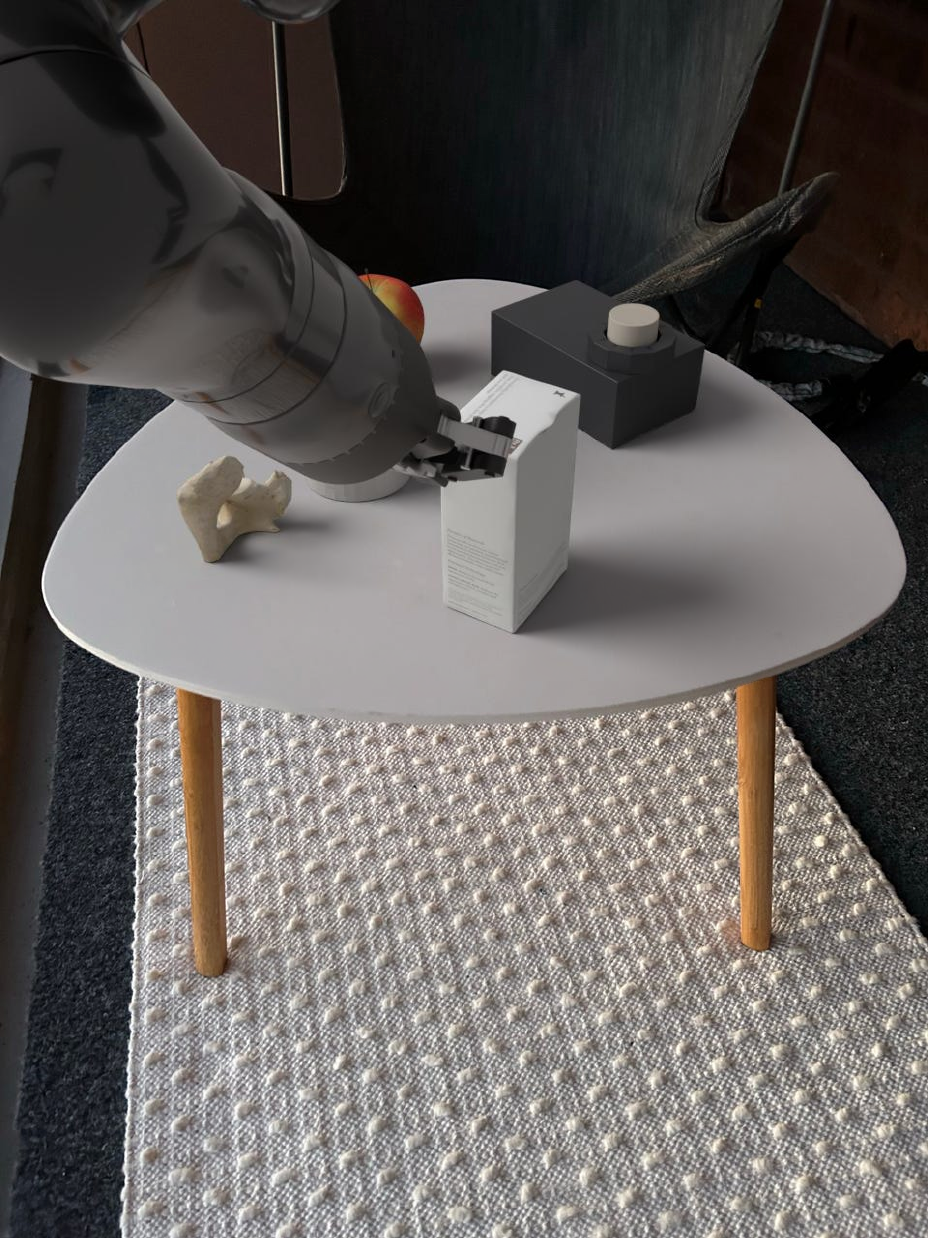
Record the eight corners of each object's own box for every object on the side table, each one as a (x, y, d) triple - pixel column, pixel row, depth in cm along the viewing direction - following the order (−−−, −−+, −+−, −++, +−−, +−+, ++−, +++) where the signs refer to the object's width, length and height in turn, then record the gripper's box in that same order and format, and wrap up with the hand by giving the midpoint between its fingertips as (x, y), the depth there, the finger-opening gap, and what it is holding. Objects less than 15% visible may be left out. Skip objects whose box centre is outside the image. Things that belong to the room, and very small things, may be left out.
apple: (443, 375, 99) (440, 270, 92) (367, 402, 96) (358, 295, 89) (396, 341, 104) (390, 239, 97) (322, 365, 101) (310, 261, 94)
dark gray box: (701, 412, 94) (714, 326, 88) (616, 452, 89) (625, 364, 84) (572, 341, 104) (577, 260, 98) (490, 374, 99) (490, 291, 94)
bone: (264, 466, 85) (271, 401, 76) (303, 534, 84) (315, 477, 75) (163, 508, 82) (157, 446, 73) (201, 580, 81) (201, 525, 72)
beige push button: (667, 339, 88) (670, 315, 86) (631, 354, 86) (633, 330, 84) (632, 321, 90) (634, 298, 89) (596, 336, 88) (598, 312, 87)
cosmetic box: (499, 545, 80) (501, 363, 70) (572, 571, 78) (585, 387, 68) (439, 610, 75) (432, 423, 65) (515, 640, 72) (520, 452, 62)
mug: (421, 493, 85) (415, 379, 79) (311, 508, 84) (296, 394, 77) (393, 413, 94) (386, 305, 88) (294, 426, 93) (279, 317, 86)
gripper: (492, 296, 40) (575, 421, 56) (182, 246, 43) (346, 377, 60) (440, 495, 39) (539, 561, 56) (134, 427, 43) (311, 508, 60)
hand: (439, 466), depth 58 cm, fingers closed
